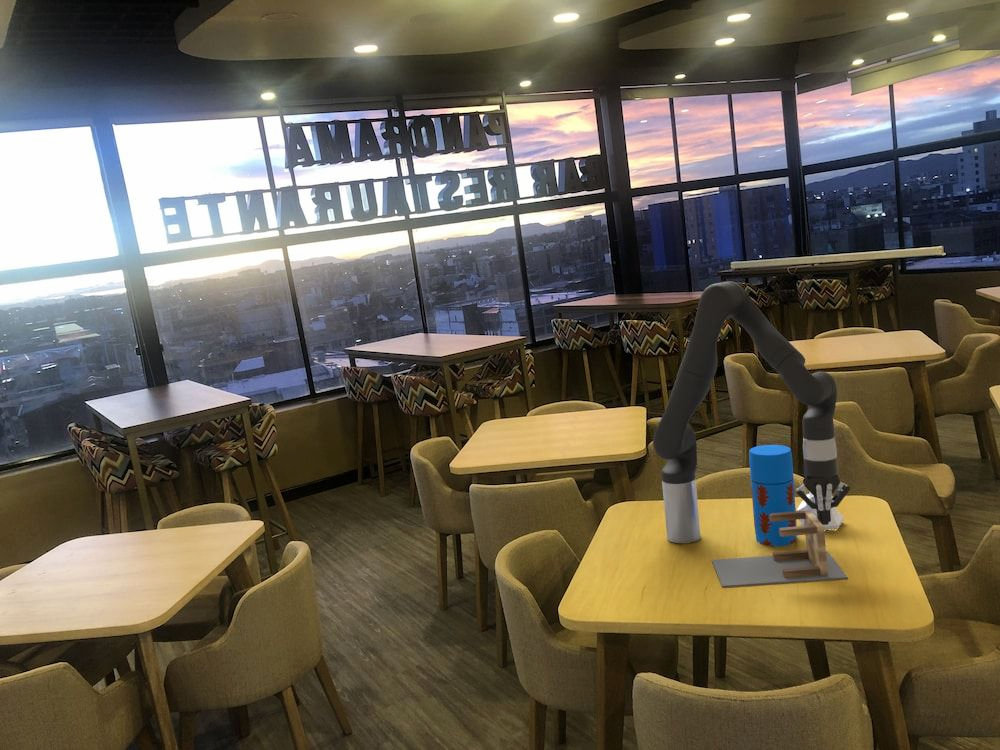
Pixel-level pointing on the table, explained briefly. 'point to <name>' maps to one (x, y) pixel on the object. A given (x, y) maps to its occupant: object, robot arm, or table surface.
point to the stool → (813, 543)
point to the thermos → (772, 492)
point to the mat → (769, 571)
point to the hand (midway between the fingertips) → (824, 523)
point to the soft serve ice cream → (835, 515)
